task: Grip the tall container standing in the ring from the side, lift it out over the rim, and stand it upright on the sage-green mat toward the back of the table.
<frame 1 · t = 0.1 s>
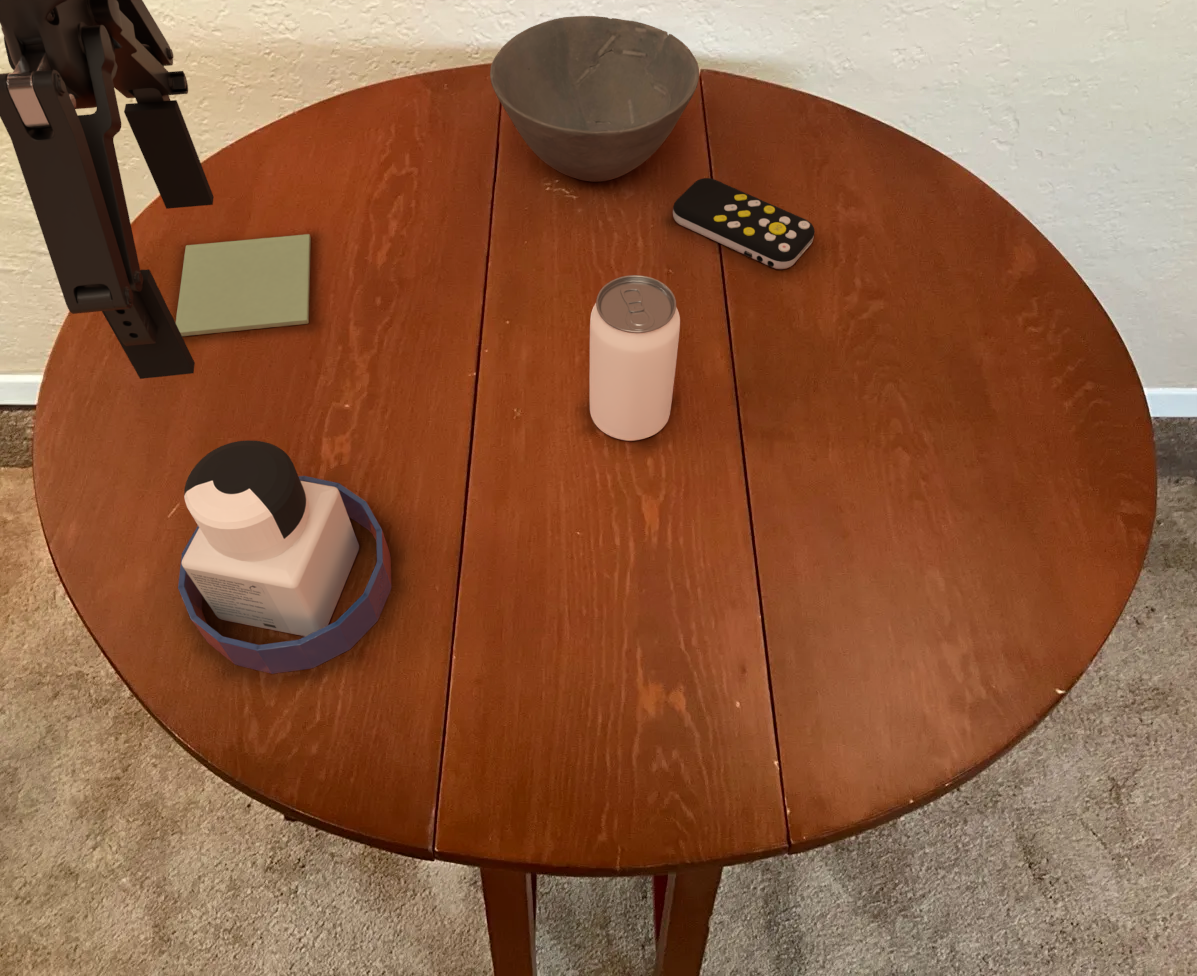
hand: (180, 281, 54), 22 cm above the table, tool pointing down, fingers open, 13 cm apart
bowl: (594, 163, 96), on the table
can: (629, 413, 77), on the table
remote control: (741, 232, 90), on the table
ring: (295, 583, 68), on the table
mat: (246, 285, 85), on the table
container: (291, 584, 68), resting in ring
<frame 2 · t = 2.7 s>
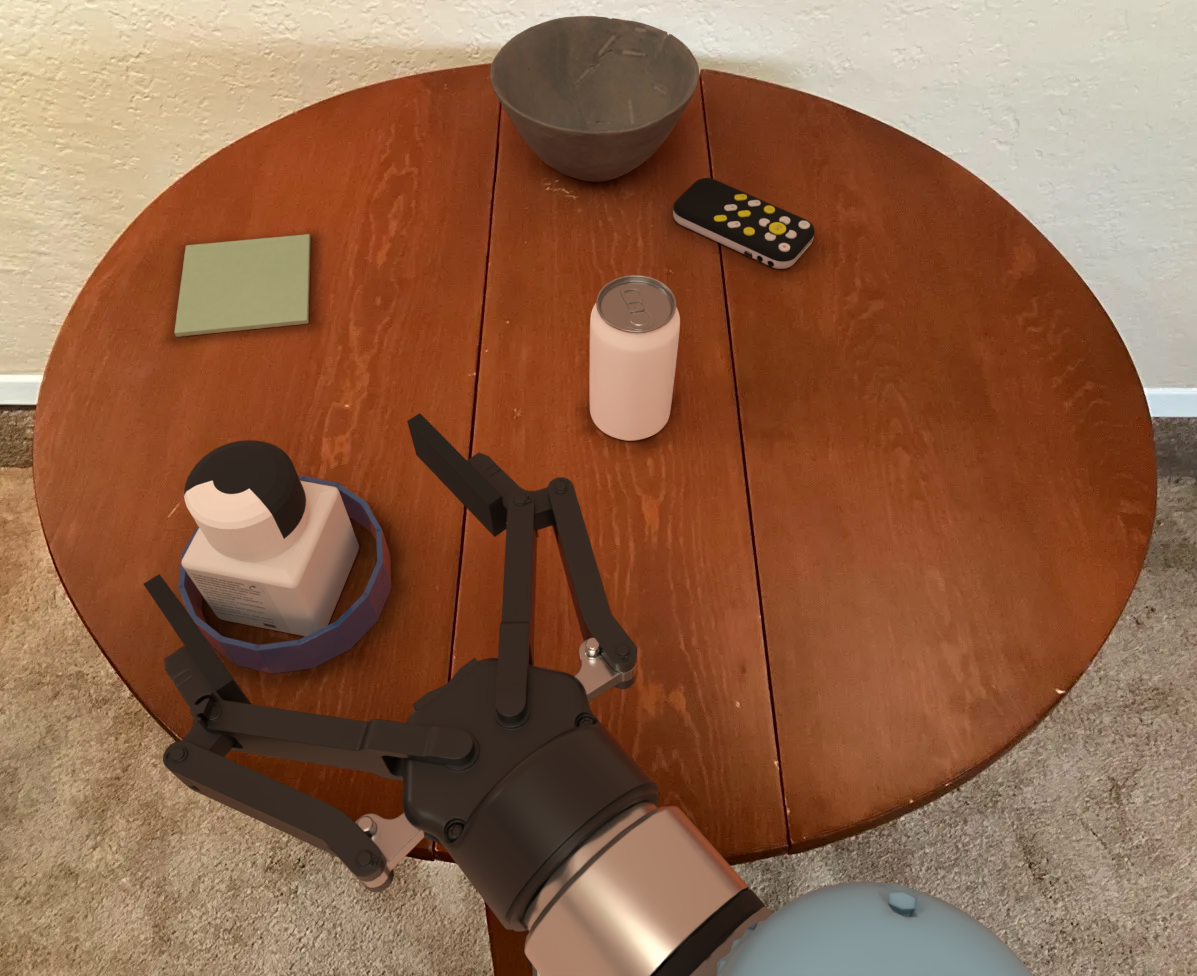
hand: (297, 509, 45), 22 cm above the table, tool horizontal, fingers open, 13 cm apart
nothing on the table moved.
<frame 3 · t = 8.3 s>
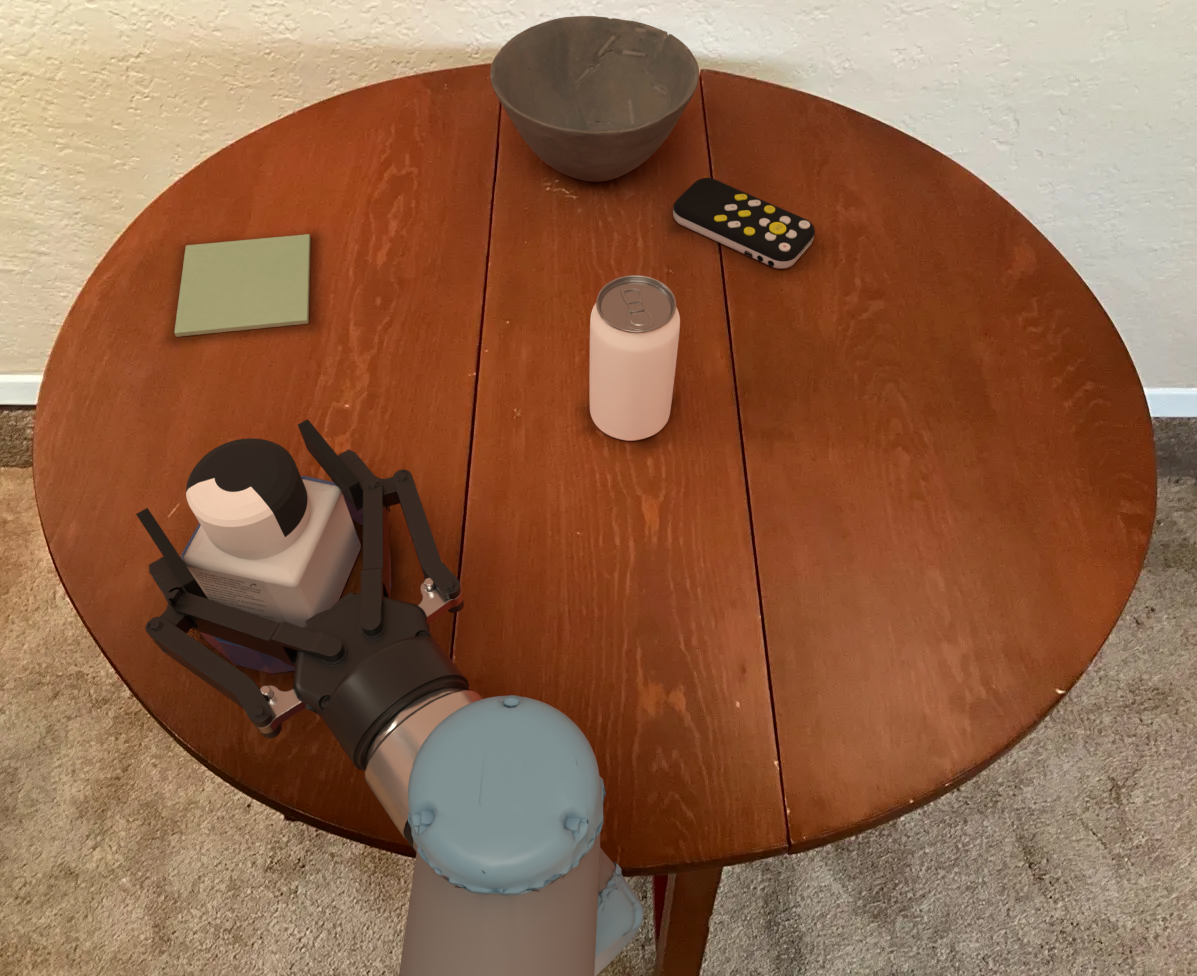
hand: (231, 477, 63), 8 cm above the table, tool horizontal, fingers closed on container, 10 cm apart
container: (293, 582, 68), resting in ring, touching gripper
everything else where it was.
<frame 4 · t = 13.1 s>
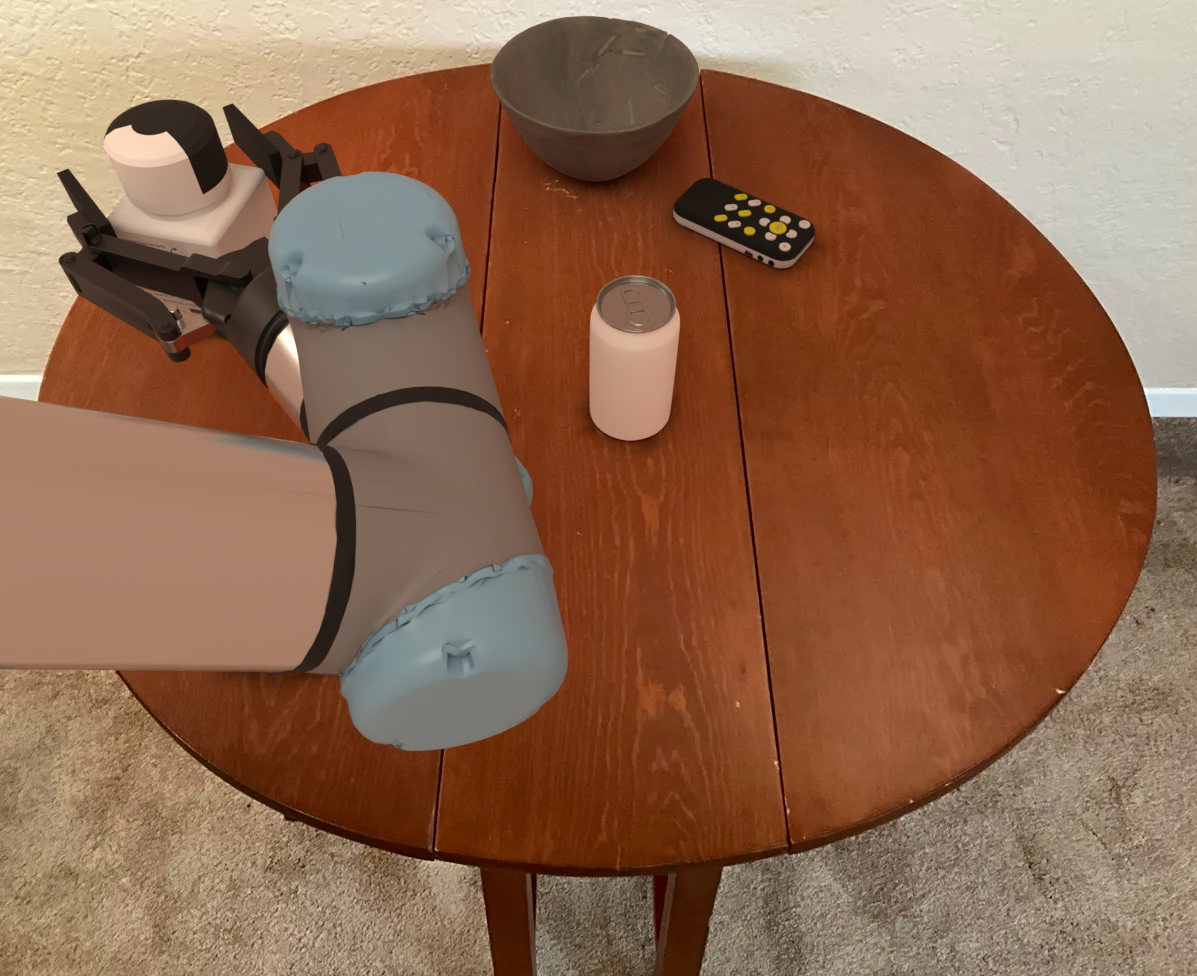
hand: (155, 154, 63), 20 cm above the table, tool horizontal, fingers closed on container, 10 cm apart
container: (222, 284, 69), point 11 cm above the table, touching gripper
everything else where it was.
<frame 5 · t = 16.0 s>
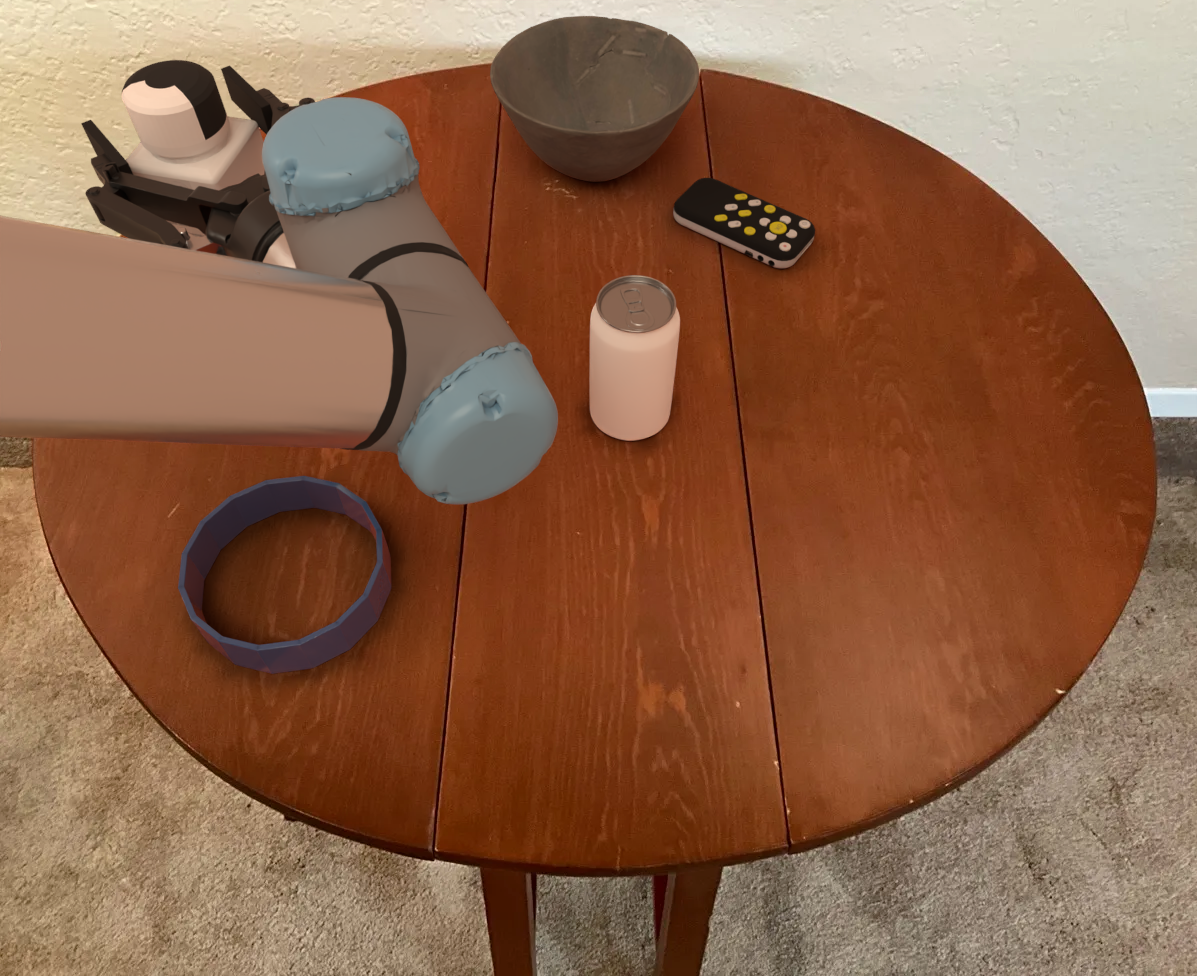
hand: (163, 109, 74), 15 cm above the table, tool horizontal, fingers closed on container, 10 cm apart
container: (222, 224, 80), point 7 cm above the table, touching gripper
everything else where it was.
when the fingers open (9 cm above the table, at t = 18.3 s): container stays where it is, resting on mat.
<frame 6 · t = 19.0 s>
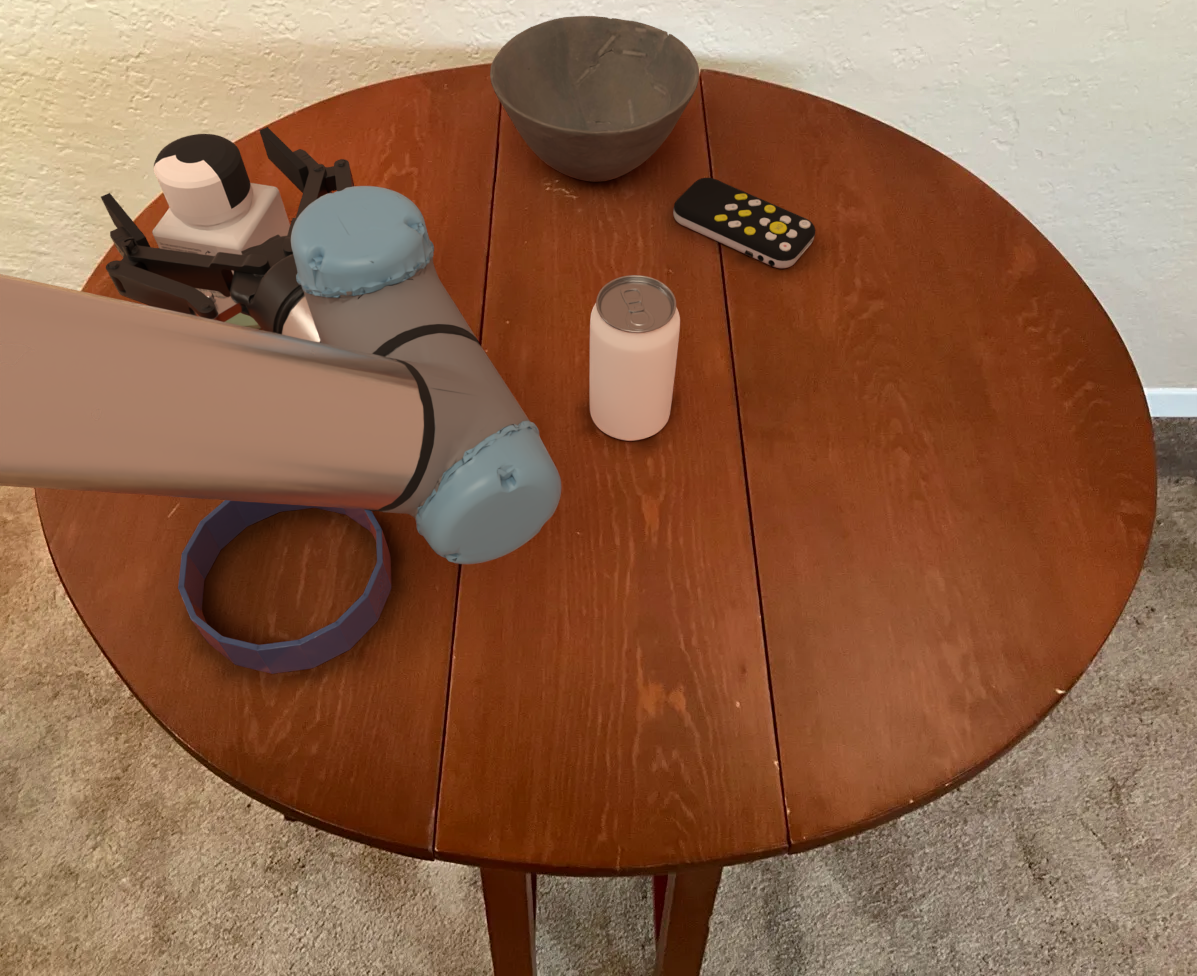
hand: (192, 174, 78), 10 cm above the table, tool horizontal, fingers open, 13 cm apart
container: (244, 280, 85), resting on mat
everything else where it was.
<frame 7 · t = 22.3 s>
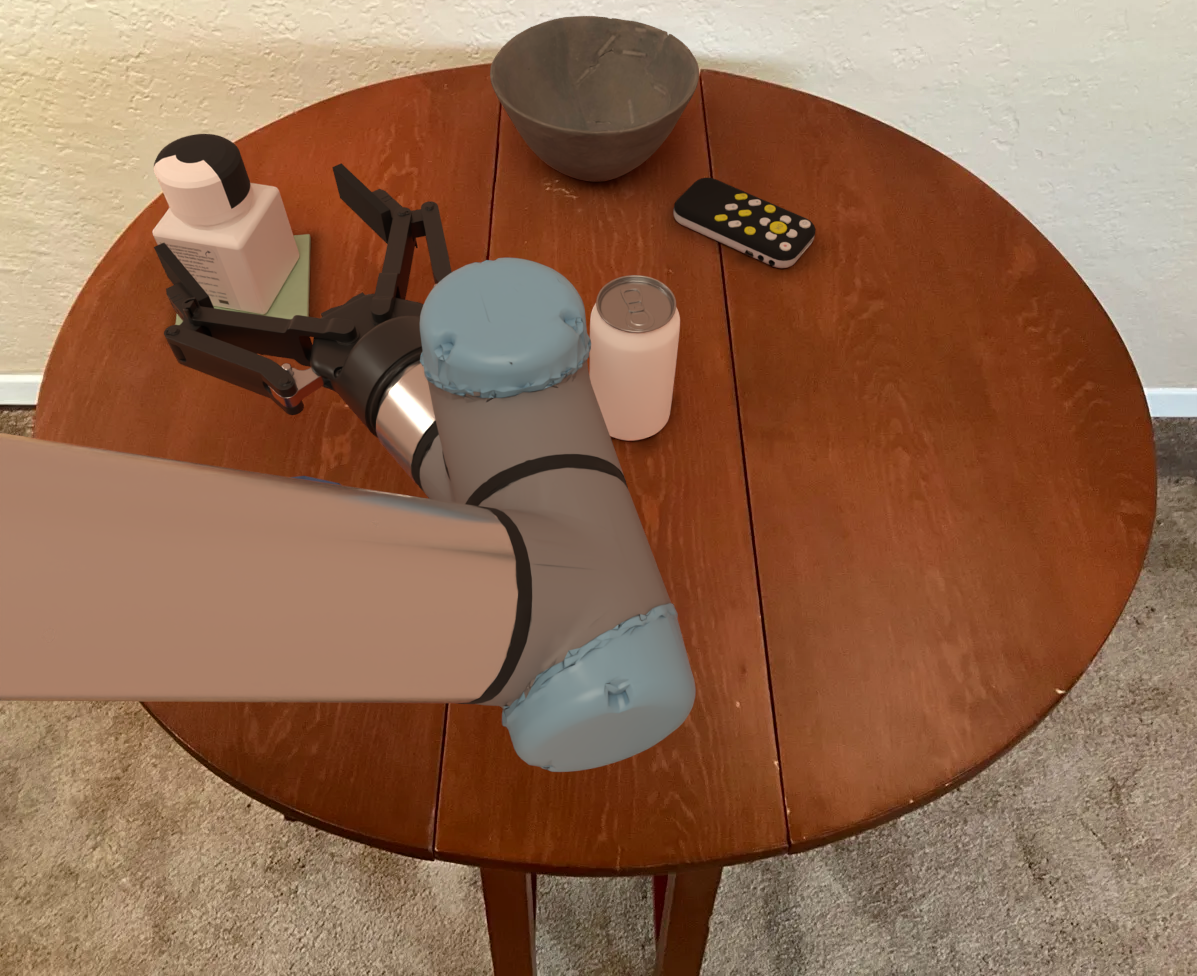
hand: (256, 218, 68), 15 cm above the table, tool horizontal, fingers open, 13 cm apart
nothing on the table moved.
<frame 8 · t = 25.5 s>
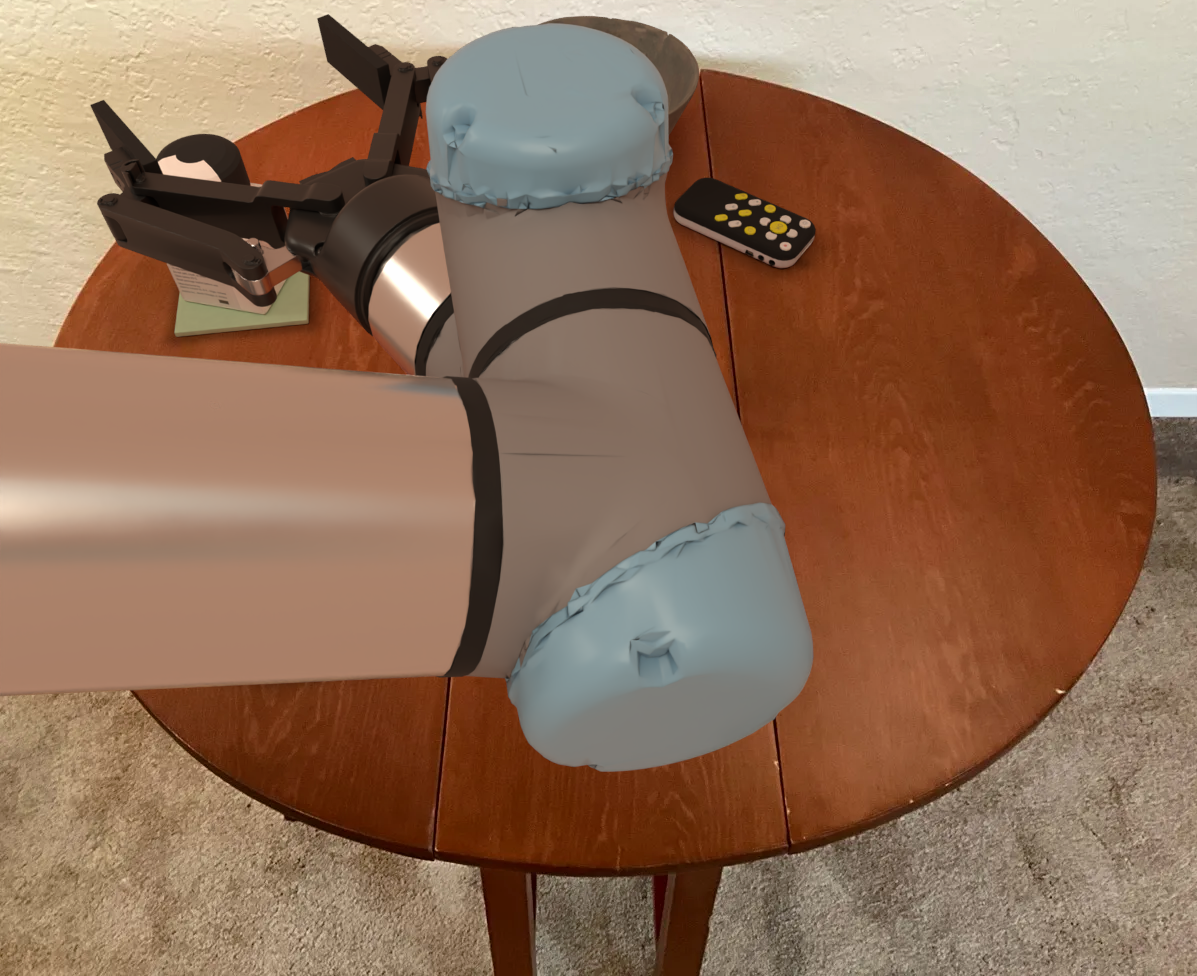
hand: (222, 79, 55), 28 cm above the table, tool horizontal, fingers open, 13 cm apart
nothing on the table moved.
at the end: container inside the target area on the mat (0.3 cm from its centre), point 0.3 cm above the mat's base; container tilted 0°; the gripper is holding nothing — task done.
